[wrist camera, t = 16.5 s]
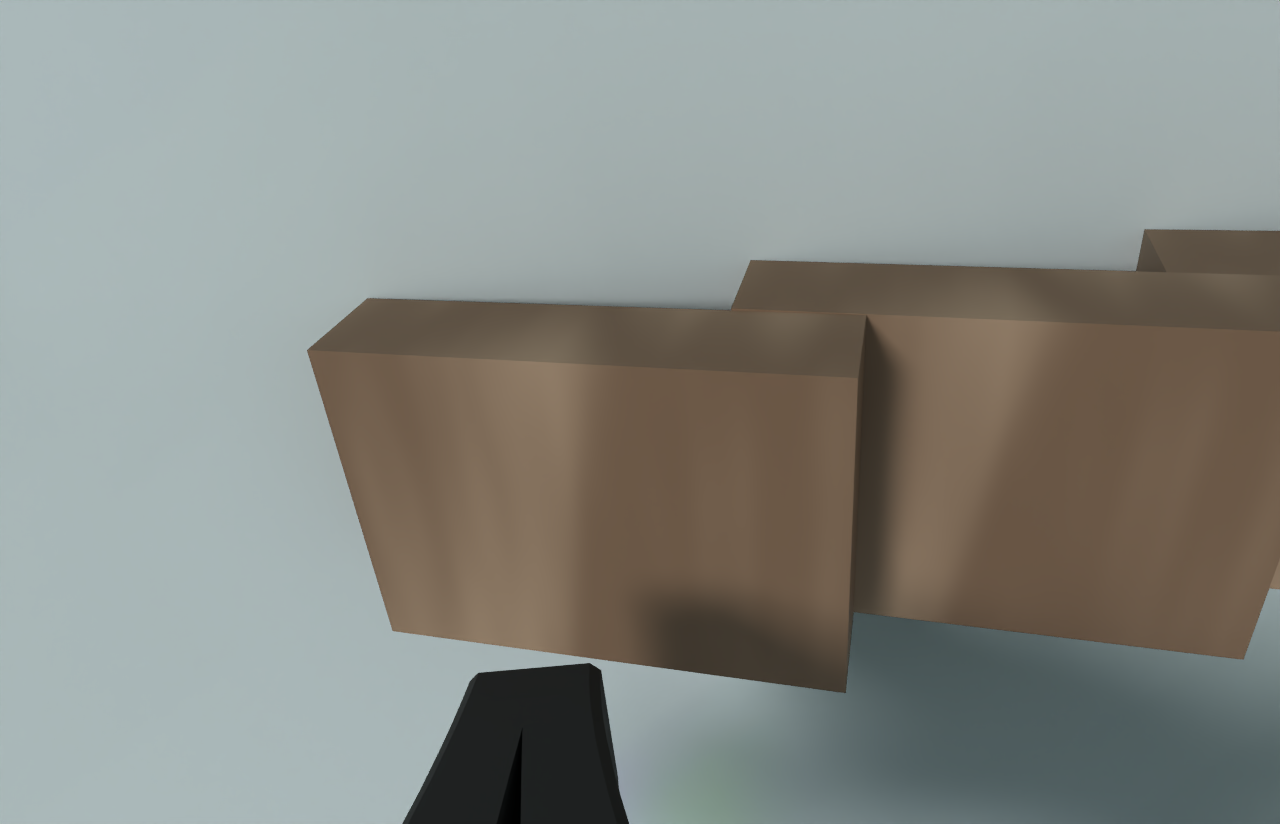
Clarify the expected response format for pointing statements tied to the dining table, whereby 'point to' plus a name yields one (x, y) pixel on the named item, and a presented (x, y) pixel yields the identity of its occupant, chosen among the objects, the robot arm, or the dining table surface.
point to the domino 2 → (1060, 446)
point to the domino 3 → (1212, 260)
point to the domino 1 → (608, 478)
